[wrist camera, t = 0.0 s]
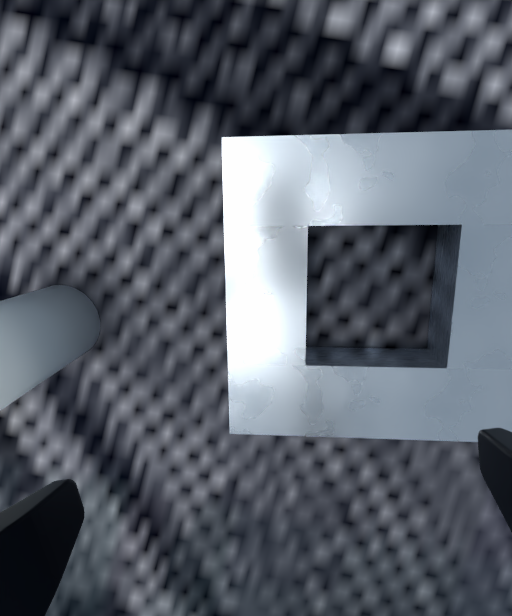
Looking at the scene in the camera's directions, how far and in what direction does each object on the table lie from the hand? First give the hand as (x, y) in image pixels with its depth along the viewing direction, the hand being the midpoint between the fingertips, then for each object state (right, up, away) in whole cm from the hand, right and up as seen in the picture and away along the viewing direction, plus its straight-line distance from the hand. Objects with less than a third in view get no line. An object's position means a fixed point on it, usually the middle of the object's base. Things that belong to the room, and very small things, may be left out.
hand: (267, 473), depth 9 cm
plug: (-12, +3, +15) cm, 20 cm away
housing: (+6, +5, +14) cm, 16 cm away
